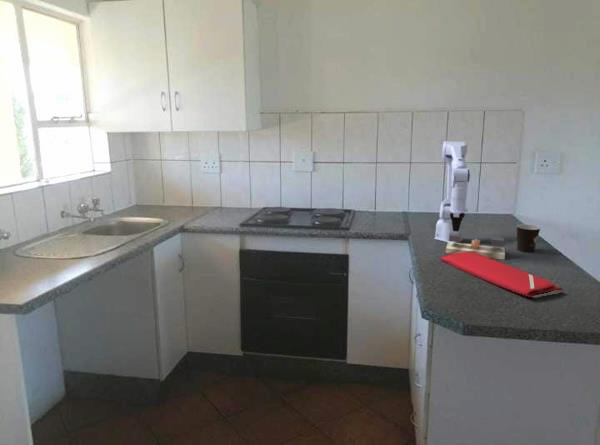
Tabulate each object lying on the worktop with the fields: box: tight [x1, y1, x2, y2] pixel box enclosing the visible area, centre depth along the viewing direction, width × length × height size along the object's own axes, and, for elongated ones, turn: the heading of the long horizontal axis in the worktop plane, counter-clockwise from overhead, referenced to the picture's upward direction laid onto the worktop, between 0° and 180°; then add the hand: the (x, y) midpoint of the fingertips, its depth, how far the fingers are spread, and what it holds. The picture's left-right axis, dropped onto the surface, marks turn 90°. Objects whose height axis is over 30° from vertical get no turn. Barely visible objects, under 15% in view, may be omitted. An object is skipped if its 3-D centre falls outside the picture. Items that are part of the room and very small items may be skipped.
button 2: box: [490, 236, 505, 248], centre depth 186 cm, size 4×4×2 cm
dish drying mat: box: [440, 252, 563, 298], centre depth 164 cm, size 16×41×4 cm, turn 22°
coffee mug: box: [516, 224, 541, 254], centre depth 193 cm, size 12×9×10 cm
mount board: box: [445, 242, 506, 260], centre depth 190 cm, size 22×10×3 cm, turn 68°
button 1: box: [449, 233, 462, 243], centre depth 192 cm, size 4×4×2 cm
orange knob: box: [470, 238, 481, 249], centre depth 189 cm, size 3×3×3 cm
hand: (455, 230), depth 191 cm, fingers closed
